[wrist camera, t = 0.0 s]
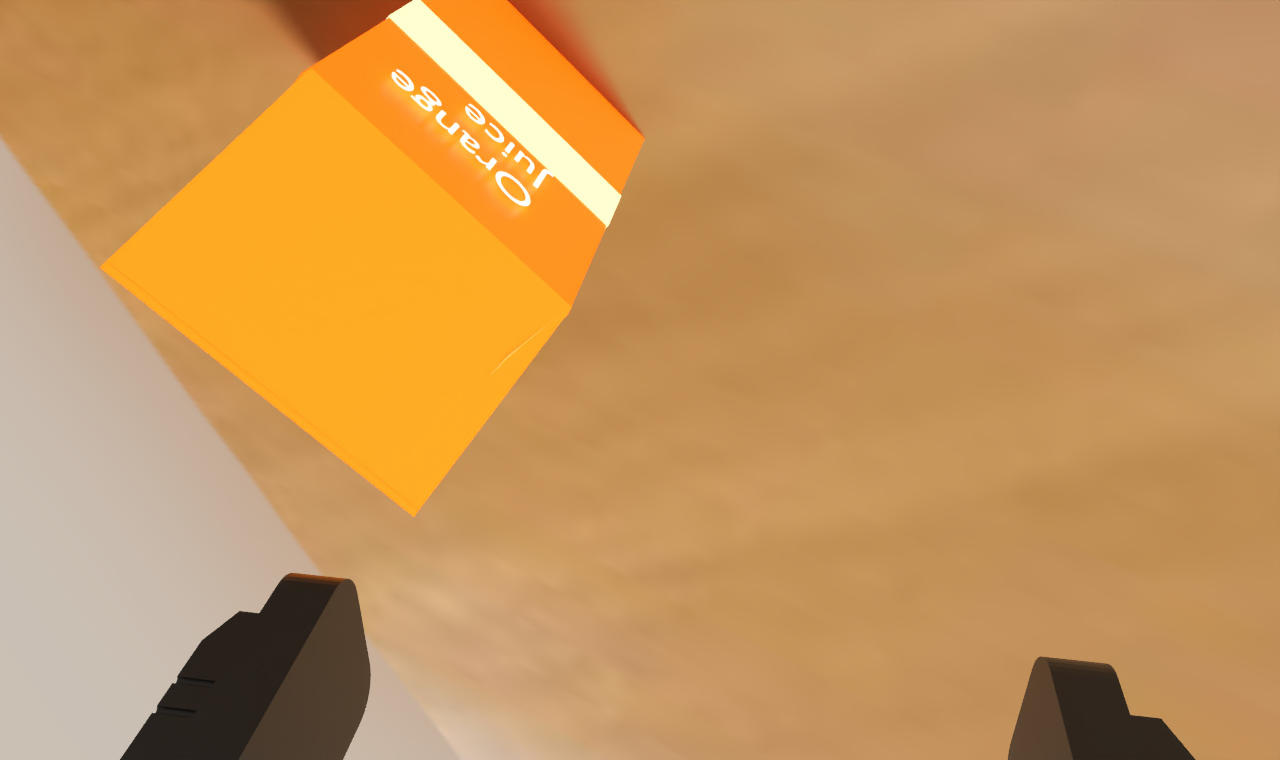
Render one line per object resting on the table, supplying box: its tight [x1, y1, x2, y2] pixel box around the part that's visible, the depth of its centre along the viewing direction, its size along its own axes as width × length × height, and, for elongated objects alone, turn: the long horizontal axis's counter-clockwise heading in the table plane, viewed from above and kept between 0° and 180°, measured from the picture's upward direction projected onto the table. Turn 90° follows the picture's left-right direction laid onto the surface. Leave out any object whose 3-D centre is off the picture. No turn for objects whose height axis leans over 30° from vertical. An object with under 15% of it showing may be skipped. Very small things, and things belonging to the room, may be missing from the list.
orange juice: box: [100, 0, 645, 517], centre depth 31 cm, size 8×9×20 cm
